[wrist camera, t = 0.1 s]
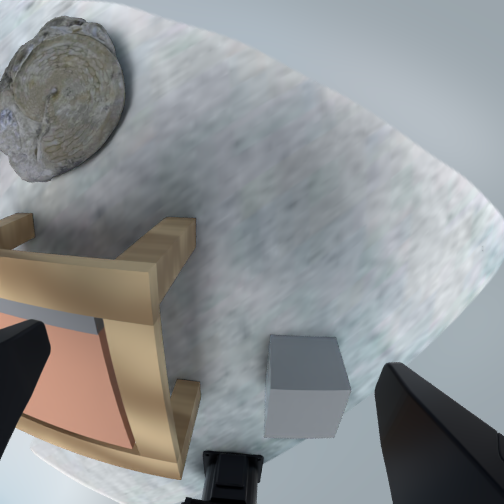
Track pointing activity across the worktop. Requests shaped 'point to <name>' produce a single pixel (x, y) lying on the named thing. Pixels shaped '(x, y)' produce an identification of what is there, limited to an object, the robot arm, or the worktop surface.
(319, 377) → the grey block
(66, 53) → the fossilized seashell
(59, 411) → the trapdoor
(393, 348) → the worktop surface
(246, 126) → the worktop surface
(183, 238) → the trapdoor frame
